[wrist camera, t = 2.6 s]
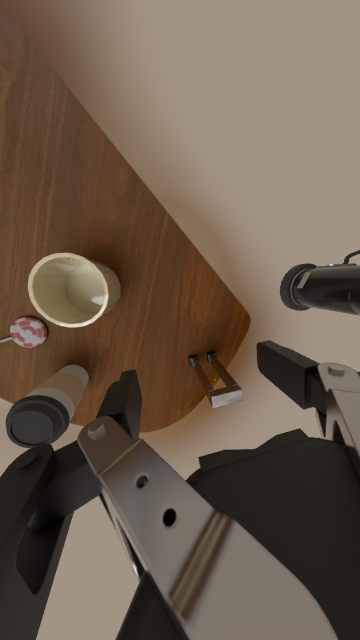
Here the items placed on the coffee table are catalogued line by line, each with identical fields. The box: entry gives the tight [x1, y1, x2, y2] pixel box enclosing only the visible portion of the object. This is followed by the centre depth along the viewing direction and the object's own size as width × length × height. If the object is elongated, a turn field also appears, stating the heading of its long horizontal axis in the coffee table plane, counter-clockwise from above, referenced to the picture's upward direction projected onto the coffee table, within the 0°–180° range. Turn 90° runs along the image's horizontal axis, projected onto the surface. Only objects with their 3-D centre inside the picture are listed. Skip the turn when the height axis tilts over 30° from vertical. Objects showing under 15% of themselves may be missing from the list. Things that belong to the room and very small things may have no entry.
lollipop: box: [0, 317, 47, 348], centre depth 36 cm, size 7×1×15 cm
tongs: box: [188, 351, 243, 408], centre depth 37 cm, size 7×2×16 cm, turn 99°
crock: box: [28, 253, 121, 328], centre depth 32 cm, size 11×11×11 cm
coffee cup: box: [6, 365, 89, 448], centre depth 33 cm, size 9×9×15 cm
